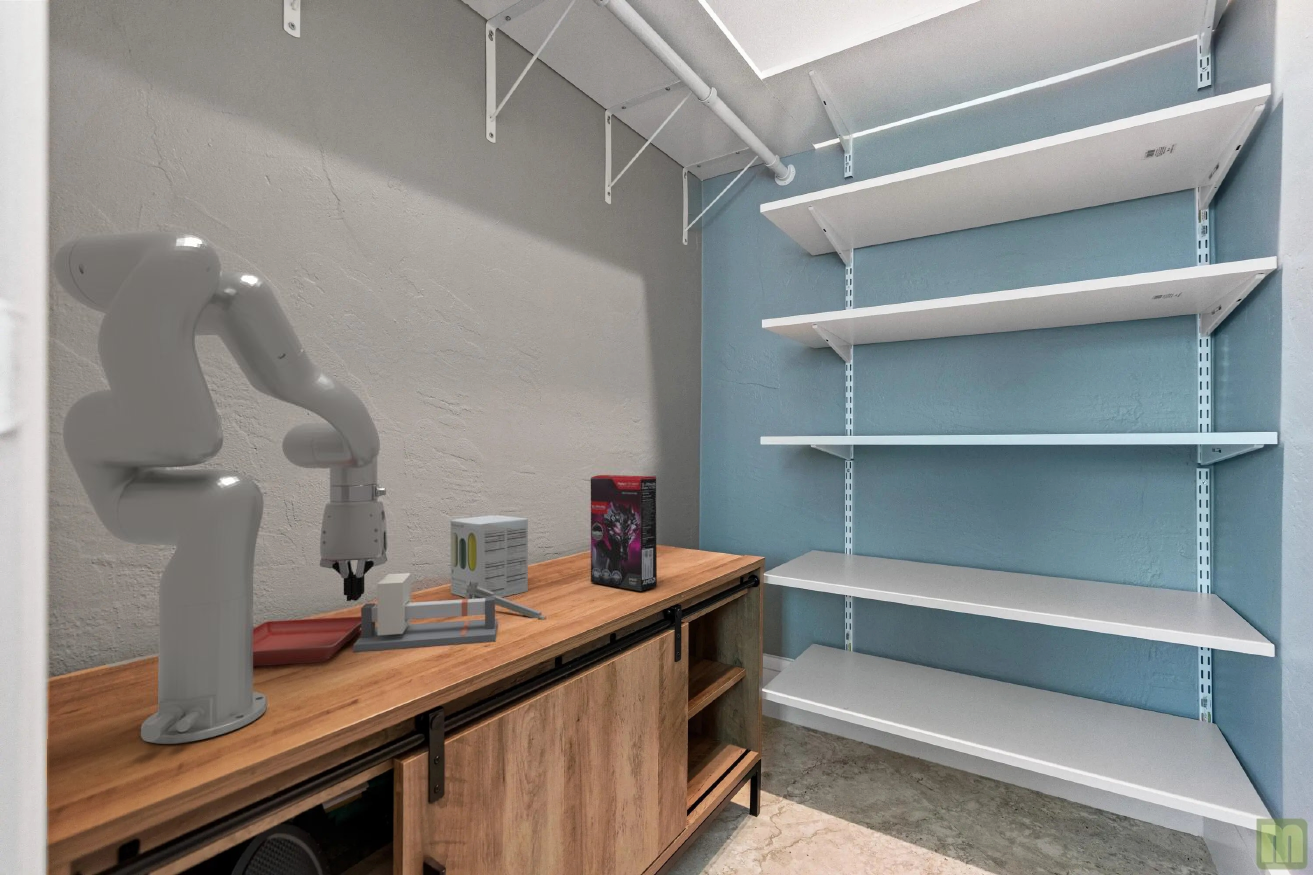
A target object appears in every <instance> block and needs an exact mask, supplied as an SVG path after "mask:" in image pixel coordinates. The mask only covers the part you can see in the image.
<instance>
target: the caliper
mask: <svg viewBox="0 0 1313 875" xmlns="http://www.w3.org/2000/svg"><path fill="white" fill-rule="evenodd" d="M477 585H478V582H474V580H471V581H470V585H467V589H466V593H465V597H464V599H472V597H473V596H474V599H479V598H486V597H488V596H495V606H496V605H497V606H499V607H502V608H505V609H507V610H509V611H512V612H515V613H518V614H520V615H523V616H526V617H528V618H531V619H534V618H539V619H540V620H542V619H544V620H546V619H547V616H545V615H543V614H542V611H540V610H537V609H535V608H532V607H528V606H526V605H523V604H521V603H517V602H515V601H512V600H510V599H507V598H505V597H499V596H496V595H495V593H494V592H491V591H489V590H486V589H484V588H481V587H478V588H477ZM545 618H546V619H545ZM539 619H538V620H539Z"/></svg>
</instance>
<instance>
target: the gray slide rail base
mask: <svg viewBox="0 0 1313 875" xmlns="http://www.w3.org/2000/svg"><path fill="white" fill-rule="evenodd" d="M360 612H361V613H360V616H361V629H360V636H359V638H358V639H357V640H356V642H354V643H353V653H357V652H358V653H359V652H370V651H386V650H397V649H398V650H399V649H411V648H423V647H425V648H426V647H437V646H451V645H463V644H476V643H477V644H478V643H490V642H491V641H493V642H496V637H497V630H498V618H496V604H495V596H488V597H486V598H479V599H465V598H463V599H450V600H447V599H446V600H433V601H417V602H415V601H413V602H412V601H411V603H406V604H405V620H410V619H411V620H420V619H421V620H422V619H423V620H424V619H437V618H453V617H469V616H471V617H472V616H484V619H470V620H455V621H454V620H453V621H441V622H440V621H439V622H427V623H413V624H411V623H409V624H408V626H407V627H406V629H405V631H404V632H403V634H391V635H377V627H378V626H376V623H378V604H376V603H373V602H372V603H371V602H370V603H365V604H364V605H362V607H361V609H360ZM491 643H492V642H491Z"/></svg>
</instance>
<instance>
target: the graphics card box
mask: <svg viewBox="0 0 1313 875" xmlns="http://www.w3.org/2000/svg"><path fill="white" fill-rule="evenodd" d="M657 550H658V549H657V477H656V475H648V476H647V475H621V474H620V475H619V474H599V475H595V476H591V477H590V583H592V584H597V583H598V584H597V585H602V584H603V585H602V586H609V587H617V588H621V589H626V590H632V591H638V592H643V591H645V590H649V589H652V588H657V587H658V586H657V585H658V583H657V580H658V579H657V578H658V573H657V570H658V568H657V566H658V564H657V560H658V559H657V558H658V556H657Z"/></svg>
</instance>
